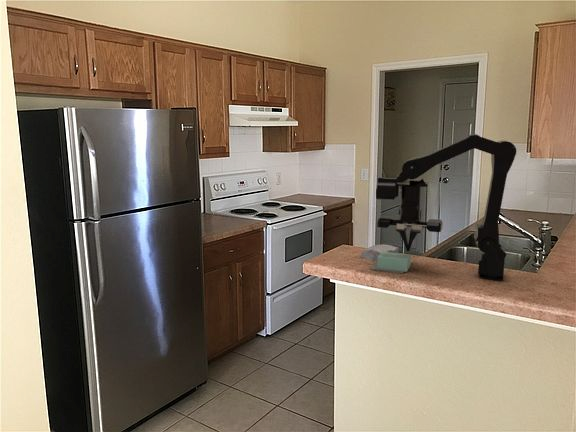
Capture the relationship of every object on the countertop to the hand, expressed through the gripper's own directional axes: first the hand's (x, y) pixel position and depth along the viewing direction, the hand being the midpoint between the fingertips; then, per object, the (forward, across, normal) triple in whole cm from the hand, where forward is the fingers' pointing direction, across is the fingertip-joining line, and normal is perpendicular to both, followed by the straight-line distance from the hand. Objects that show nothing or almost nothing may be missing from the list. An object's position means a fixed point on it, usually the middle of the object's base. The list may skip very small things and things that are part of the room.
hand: (408, 251), depth 147 cm
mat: (+6, +6, 0) cm, 8 cm away
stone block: (+6, +12, -11) cm, 18 cm away
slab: (+4, 0, 0) cm, 4 cm away
